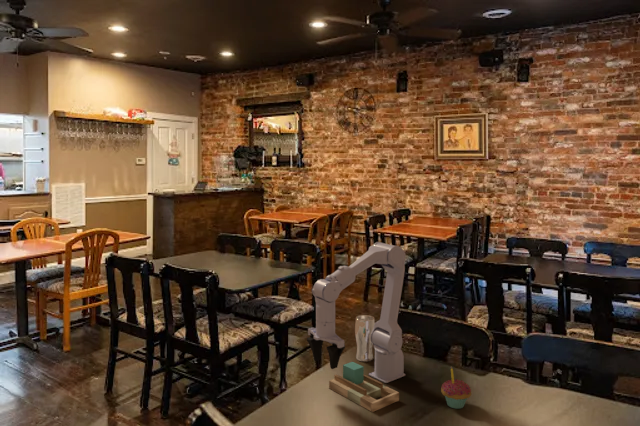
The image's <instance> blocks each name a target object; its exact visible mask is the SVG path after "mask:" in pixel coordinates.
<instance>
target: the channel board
mask: <svg viewBox="0 0 640 426" xmlns="http://www.w3.org/2000/svg"><path fill="white" fill-rule="evenodd" d="M333 377H334V378H333V379H330V380H329V381H328V385H329V386H328V388H329V390H332V391H333V392H336V394H339V395H341V396H342V397H344V398H346V399H348V400H350V401H352V402H353V403H355V404H357V405H358V406H360V407H362V408H365V410H368V411H370V412H371V413H374V412H375V411H378V410H381V409H384V408H385V407H388V406H390V405H392V404H394V403H396V402H399V401H400V392H399V391H397V390H395V389H393V388H390V387H389V386H387V385H384V382H382V381H380V380H378V379H376V378H374V377H372V376H369V375H366V374H364V379H363V383H360V384H358V385H356V384H354V383H352V382H350V381H348V380H346V379H344V378H343V375H341V376H340V375H339V374H334V375H333Z"/></svg>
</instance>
